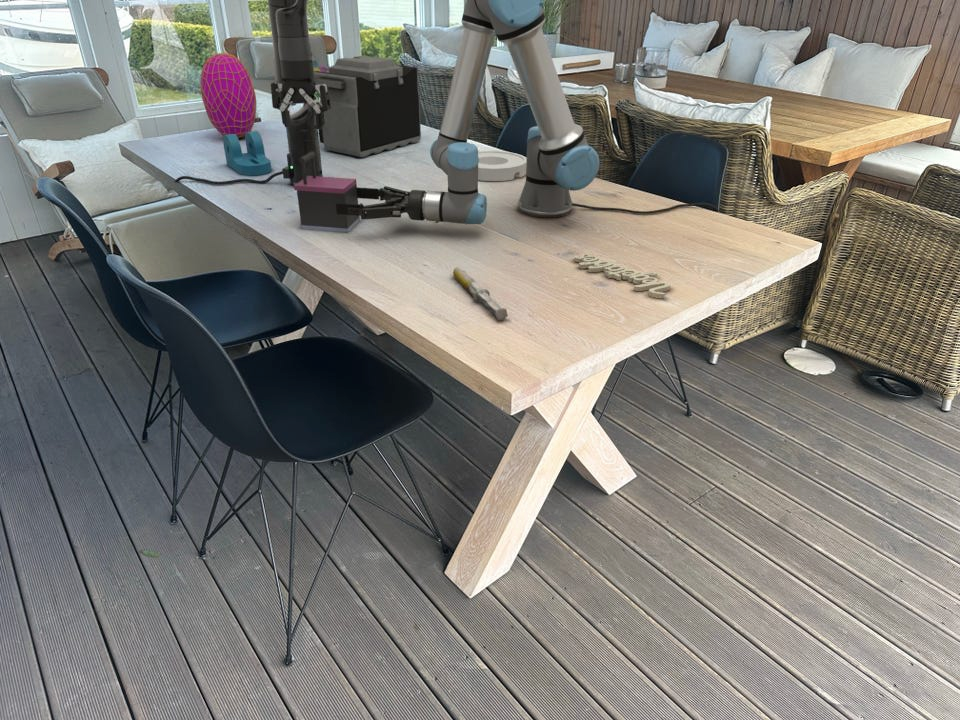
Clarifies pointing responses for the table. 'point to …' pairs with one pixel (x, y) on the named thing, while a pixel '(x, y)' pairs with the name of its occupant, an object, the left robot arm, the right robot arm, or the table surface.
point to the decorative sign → (625, 274)
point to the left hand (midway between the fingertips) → (304, 127)
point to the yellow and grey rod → (479, 293)
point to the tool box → (370, 106)
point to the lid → (321, 180)
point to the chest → (326, 210)
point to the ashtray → (500, 166)
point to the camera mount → (246, 154)
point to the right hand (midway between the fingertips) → (346, 200)
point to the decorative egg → (228, 95)
